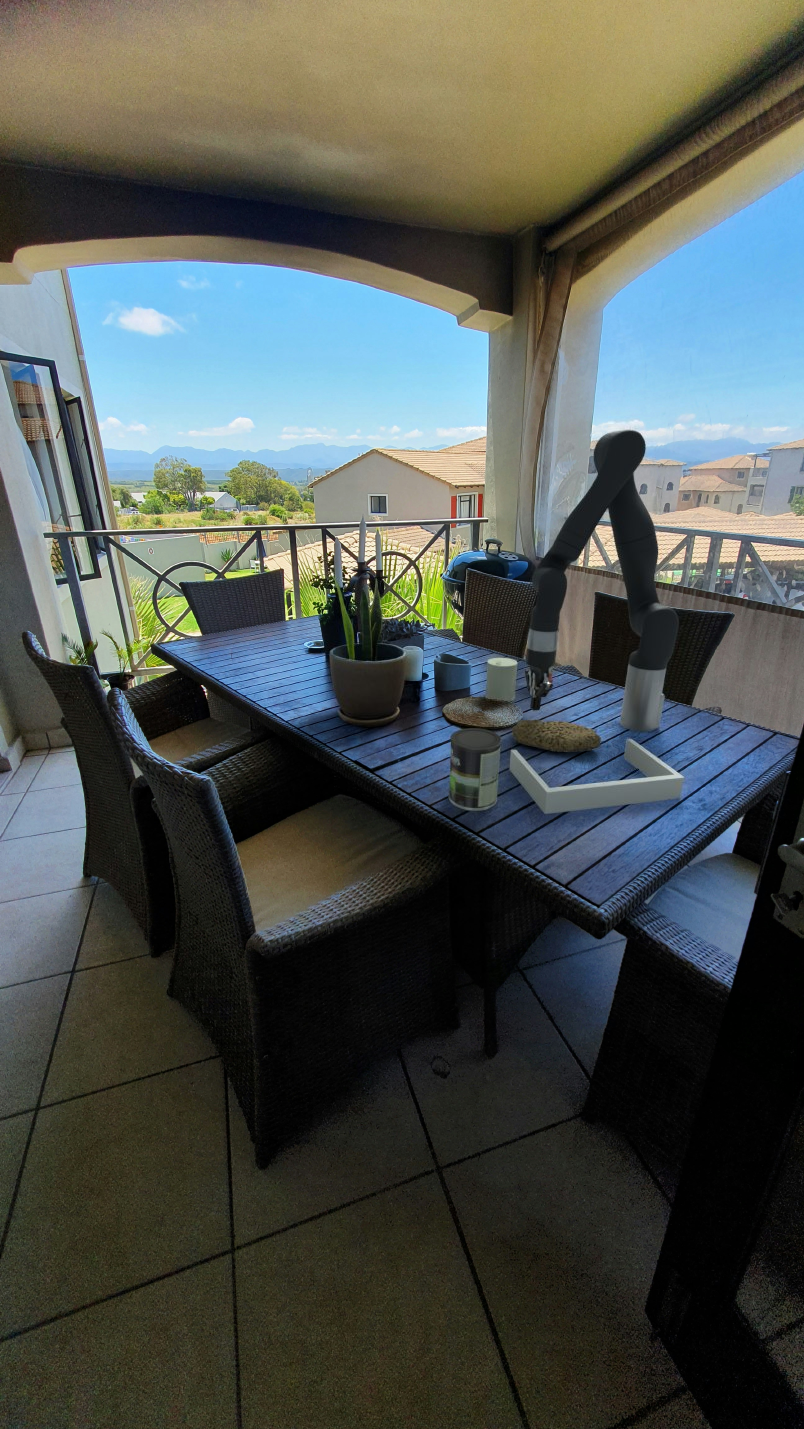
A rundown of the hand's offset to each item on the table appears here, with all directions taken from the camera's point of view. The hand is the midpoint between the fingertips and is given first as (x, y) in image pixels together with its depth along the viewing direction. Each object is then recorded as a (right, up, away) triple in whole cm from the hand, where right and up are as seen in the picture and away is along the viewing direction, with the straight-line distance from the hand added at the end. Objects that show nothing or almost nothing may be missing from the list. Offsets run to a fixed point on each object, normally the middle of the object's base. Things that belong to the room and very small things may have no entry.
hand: (534, 709), depth 149 cm
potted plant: (-45, -2, +12) cm, 46 cm away
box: (+6, -17, -25) cm, 31 cm away
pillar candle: (-5, +4, +25) cm, 26 cm away
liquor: (+11, +9, +37) cm, 39 cm away
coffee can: (-21, -19, -31) cm, 42 cm away
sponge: (+3, -10, -8) cm, 13 cm away
